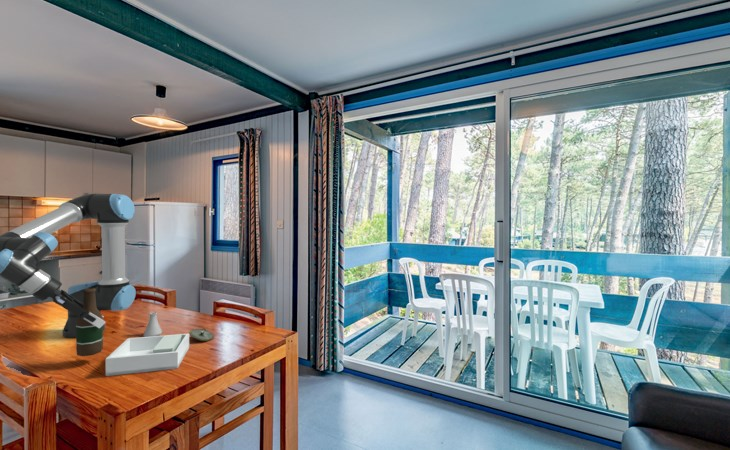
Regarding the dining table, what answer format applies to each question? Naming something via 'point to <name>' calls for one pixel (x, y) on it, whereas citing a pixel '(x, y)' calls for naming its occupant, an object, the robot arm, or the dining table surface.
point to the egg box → (168, 344)
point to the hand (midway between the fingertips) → (101, 322)
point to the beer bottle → (89, 328)
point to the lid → (201, 334)
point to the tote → (144, 356)
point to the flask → (153, 326)
